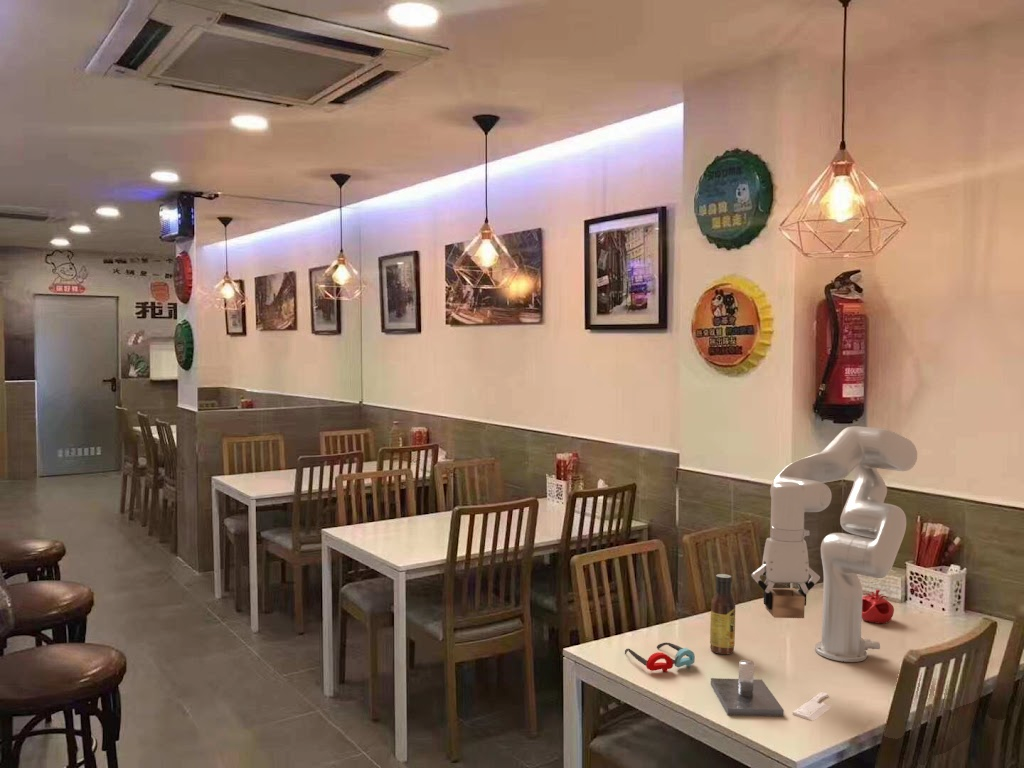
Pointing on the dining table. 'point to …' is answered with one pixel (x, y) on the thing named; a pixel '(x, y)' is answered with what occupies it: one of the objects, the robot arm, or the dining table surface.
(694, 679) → the dining table surface
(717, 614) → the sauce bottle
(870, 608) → the red tomato container
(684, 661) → the novelty glasses
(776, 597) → the wooden box
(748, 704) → the post stand
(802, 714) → the butcher knife
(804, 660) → the dining table surface
